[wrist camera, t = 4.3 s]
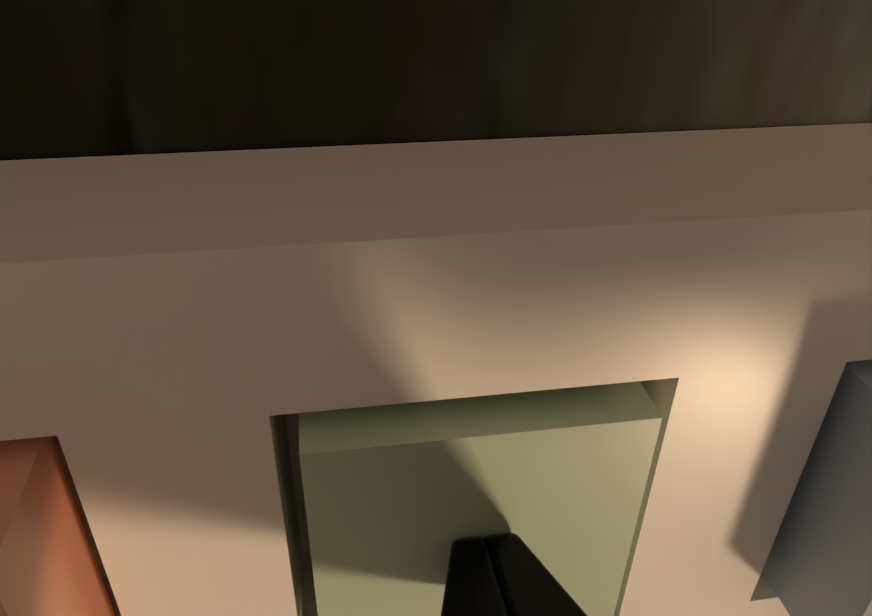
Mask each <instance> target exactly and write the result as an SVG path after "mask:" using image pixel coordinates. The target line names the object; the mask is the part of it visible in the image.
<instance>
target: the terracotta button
mask: <svg viewBox="0 0 872 616" xmlns="http://www.w3.org/2000/svg"><path fill="white" fill-rule="evenodd" d="M0 616H116V615H115V612H114V609H113V606H112V604H111V601H110V598H109V595H108V593H107V590H106V587H105V584H104V582H103V579H102V576H101V573H100V571H99V568H98V565H97V562H96V560H95V557H94V554H93V551H92V549H91V546H90V543H89V540H88V538H87V535H86V532H85V529H84V527H83V524H82V521H81V518H80V516H79V513H78V510H77V507H76V505H75V502H74V499H73V496H72V494H71V491H70V488H69V485H68V483H67V480H66V477H65V474H64V472H63V469H62V466H61V463H60V461H59V458H58V455H57V452H56V450H55V447H54V444H53V441H52V439H51V436H47V437H37V438H26V439H15V440H5V441H0Z"/></svg>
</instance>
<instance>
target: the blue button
mask: <svg viewBox="0 0 872 616" xmlns="http://www.w3.org/2000/svg"><path fill="white" fill-rule="evenodd" d="M762 571H763V573H764V575H765V576H766V578H767V580H768V581H769V583H770V584H771V586H772V588H773V589H774V591H775V592H776V594H777V596H778V597H779V599H780V601H781V602H782V604H783V605H784V607H785V609H786V610H787V612H788V613H789V615H790V616H872V360H861V361H851V362H846V365H845V367H844V370H843V372H842V375H841V377H840V380H839V382H838V385H837V387H836V390H835V392H834V395H833V397H832V400H831V402H830V404H829V407H828V409H827V412H826V414H825V417H824V419H823V422H822V424H821V427H820V429H819V432H818V434H817V437H816V439H815V441H814V444H813V446H812V449H811V451H810V454H809V456H808V459H807V461H806V464H805V466H804V469H803V471H802V474H801V476H800V478H799V481H798V483H797V486H796V488H795V491H794V493H793V496H792V498H791V501H790V503H789V506H788V508H787V511H786V513H785V515H784V518H783V520H782V523H781V525H780V528H779V530H778V533H777V535H776V538H775V540H774V543H773V545H772V548H771V550H770V552H769V555H768V557H767V560H766V562H765V565H764V567H763V570H762Z"/></svg>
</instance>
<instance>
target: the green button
mask: <svg viewBox="0 0 872 616" xmlns="http://www.w3.org/2000/svg"><path fill="white" fill-rule="evenodd" d="M661 421H662V416H661V415H660V413H659V412H658V410H657V408H656V407H655V405H654V403H653V402H652V400H651V398H650V397H649V395H648V394H647V392H646V390H645V389H644V387H643V385H642V384H641V382H640V381H636V382H626V383H615V384H604V385H594V386H583V387H572V388H562V389H551V390H540V391H529V392H519V393H508V394H497V395H487V396H476V397H465V398H454V399H444V400H433V401H422V402H412V403H401V404H390V405H379V406H369V407H358V408H347V409H337V410H326V411H315V412H304V413H299V458H300V466H301V475H302V483H303V492H304V501H305V509H306V518H307V526H308V535H309V544H310V552H311V561H312V569H313V578H314V587H315V595H316V604H317V612H318V616H441V610H442V604H443V597H444V591H445V584H446V577H447V571H448V564H449V558H450V551H451V546H452V542H453V541H454V540H455V539H460V538H469V537H477V536H478V537H482V538H483V539H485V537H486V536H488V535H494V534H502V533H514V534H517V535H518V536H519V537H520V538H521V539H522V540H523V541H524V543H525V544H526V545H527V546H528V547H529V548H530V550H531V551H532V552H533V553H534V554H535V555H536V557H537V558H538V559H539V560H540V561H541V562H542V564H543V565H544V566H545V567H546V568H547V569H548V570H549V572H550V573H551V574H552V575H553V576H554V577H555V579H556V580H557V581H558V582H559V583H560V584H561V586H562V587H563V588H564V589H565V590H566V591H567V592H568V594H569V595H570V596H571V597H572V598H573V599H574V601H575V602H576V603H577V604H578V605H579V606H580V608H581V609H582V610H583V611H584V612H585V613H586V614H587V616H614V613H615V609H616V604H617V600H618V596H619V592H620V588H621V584H622V580H623V576H624V572H625V568H626V564H627V560H628V556H629V552H630V548H631V543H632V539H633V535H634V531H635V527H636V523H637V519H638V515H639V511H640V507H641V503H642V499H643V495H644V491H645V487H646V482H647V478H648V474H649V470H650V466H651V462H652V458H653V454H654V450H655V446H656V442H657V438H658V434H659V430H660V426H661Z"/></svg>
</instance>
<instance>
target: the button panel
mask: <svg viewBox="0 0 872 616" xmlns="http://www.w3.org/2000/svg"><path fill="white" fill-rule="evenodd" d="M861 360H872V123H856V124H833V125H810V126H787V127H764V128H741V129H718V130H695V131H672V132H648V133H625V134H602V135H579V136H556V137H533V138H510V139H487V140H464V141H441V142H417V143H394V144H371V145H348V146H325V147H302V148H279V149H256V150H233V151H210V152H186V153H163V154H140V155H117V156H94V157H71V158H48V159H25V160H2V161H0V441H5V440H15V439H26V438H37V437H47V436H51V439H52V441H53V444H54V447H55V450H56V452H57V455H58V458H59V461H60V463H61V466H62V469H63V472H64V474H65V477H66V480H67V483H68V485H69V488H70V491H71V494H72V496H73V499H74V502H75V505H76V507H77V510H78V513H79V516H80V518H81V521H82V524H83V527H84V529H85V532H86V535H87V538H88V540H89V543H90V546H91V549H92V551H93V554H94V557H95V560H96V562H97V565H98V568H99V571H100V573H101V576H102V579H103V582H104V584H105V587H106V590H107V593H108V595H109V598H110V601H111V604H112V606H113V609H114V612H115V615H116V616H318V612H317V604H316V595H315V587H314V578H313V569H312V561H311V552H310V544H309V535H308V526H307V518H306V509H305V501H304V492H303V483H302V475H301V466H300V458H299V413H304V412H315V411H326V410H337V409H347V408H358V407H369V406H379V405H390V404H401V403H412V402H422V401H433V400H444V399H454V398H465V397H476V396H487V395H497V394H508V393H519V392H529V391H540V390H551V389H562V388H572V387H583V386H594V385H604V384H615V383H626V382H636V381H640V382H641V384H642V385H643V387H644V389H645V390H646V392H647V394H648V395H649V397H650V398H651V400H652V402H653V403H654V405H655V407H656V408H657V410H658V412H659V413H660V415H661V416H662V421H661V426H660V430H659V434H658V438H657V442H656V446H655V450H654V454H653V458H652V462H651V466H650V470H649V474H648V478H647V482H646V487H645V491H644V495H643V499H642V503H641V507H640V511H639V515H638V519H637V523H636V527H635V531H634V535H633V539H632V543H631V548H630V552H629V556H628V560H627V564H626V568H625V572H624V576H623V580H622V584H621V588H620V592H619V596H618V600H617V604H616V609H615V613H614V616H790V615H789V613H788V612H787V610H786V609H785V607H784V605H783V604H782V602H781V601H780V599H779V597H778V596H777V594H776V592H775V591H774V589H773V588H772V586H771V584H770V583H769V581H768V580H767V578H766V576H765V575H764V573H763V571H762V570H763V567H764V565H765V562H766V560H767V557H768V555H769V552H770V550H771V548H772V545H773V543H774V540H775V538H776V535H777V533H778V530H779V528H780V525H781V523H782V520H783V518H784V515H785V513H786V511H787V508H788V506H789V503H790V501H791V498H792V496H793V493H794V491H795V488H796V486H797V483H798V481H799V478H800V476H801V474H802V471H803V469H804V466H805V464H806V461H807V459H808V456H809V454H810V451H811V449H812V446H813V444H814V441H815V439H816V437H817V434H818V432H819V429H820V427H821V424H822V422H823V419H824V417H825V414H826V412H827V409H828V407H829V404H830V402H831V400H832V397H833V395H834V392H835V390H836V387H837V385H838V382H839V380H840V377H841V375H842V372H843V370H844V367H845V365H846V362H851V361H861Z"/></svg>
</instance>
